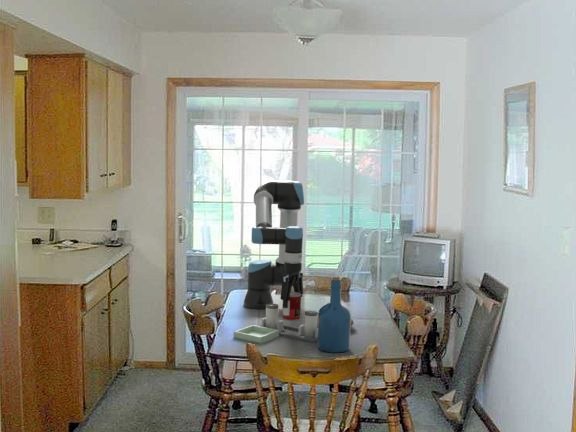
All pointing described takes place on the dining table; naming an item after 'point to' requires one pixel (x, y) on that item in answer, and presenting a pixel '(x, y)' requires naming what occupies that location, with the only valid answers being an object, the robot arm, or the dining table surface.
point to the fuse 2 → (310, 323)
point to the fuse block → (300, 329)
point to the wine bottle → (334, 322)
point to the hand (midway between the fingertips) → (291, 312)
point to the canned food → (294, 306)
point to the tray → (256, 334)
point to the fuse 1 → (272, 316)
